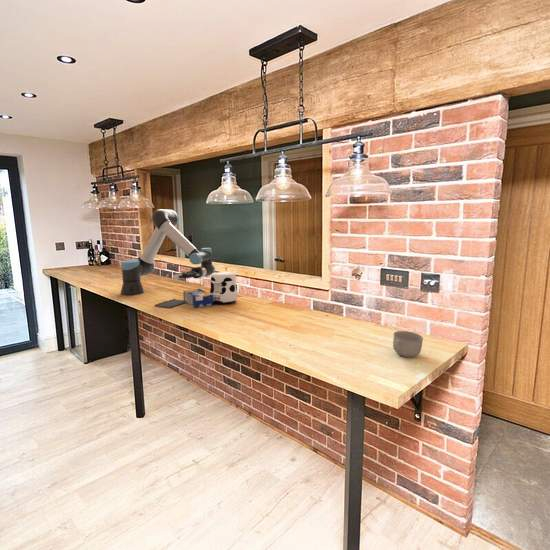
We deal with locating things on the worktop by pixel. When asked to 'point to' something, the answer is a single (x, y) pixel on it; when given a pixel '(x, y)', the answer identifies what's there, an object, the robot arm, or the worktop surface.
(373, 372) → the worktop surface
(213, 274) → the milk container
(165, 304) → the bar mat
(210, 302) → the beverage box
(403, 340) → the teacup
